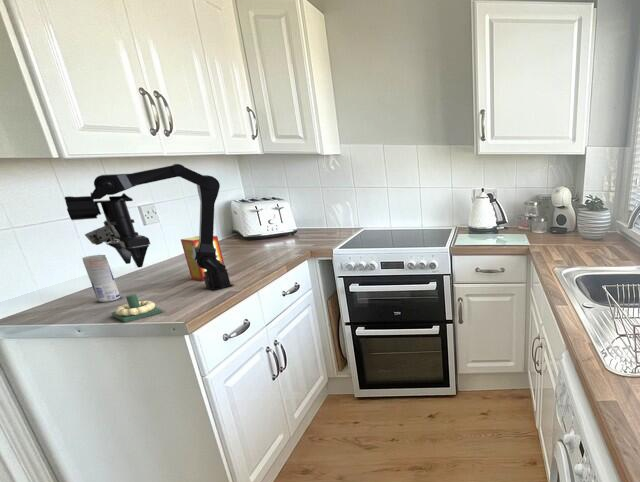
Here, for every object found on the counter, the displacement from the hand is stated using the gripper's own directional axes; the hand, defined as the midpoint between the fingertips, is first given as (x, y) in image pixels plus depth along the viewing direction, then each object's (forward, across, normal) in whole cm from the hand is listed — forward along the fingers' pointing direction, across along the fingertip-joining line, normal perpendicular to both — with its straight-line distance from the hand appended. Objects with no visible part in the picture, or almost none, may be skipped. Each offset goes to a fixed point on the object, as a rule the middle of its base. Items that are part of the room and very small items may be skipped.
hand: (134, 265), depth 134 cm
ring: (+10, +14, -7) cm, 19 cm away
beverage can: (+12, -11, -6) cm, 17 cm away
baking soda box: (+12, -12, +25) cm, 30 cm away
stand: (+12, +14, -7) cm, 20 cm away
